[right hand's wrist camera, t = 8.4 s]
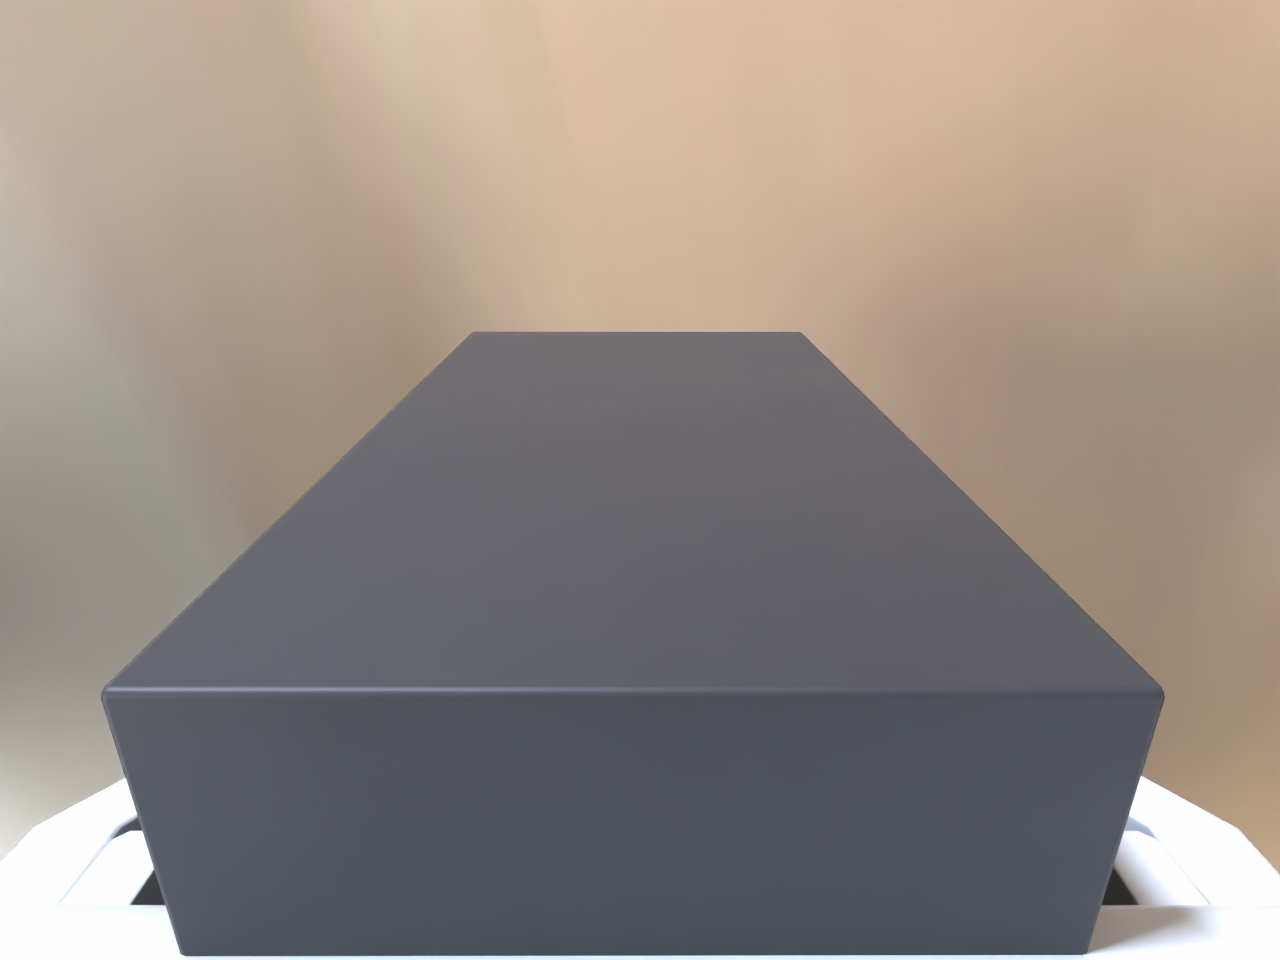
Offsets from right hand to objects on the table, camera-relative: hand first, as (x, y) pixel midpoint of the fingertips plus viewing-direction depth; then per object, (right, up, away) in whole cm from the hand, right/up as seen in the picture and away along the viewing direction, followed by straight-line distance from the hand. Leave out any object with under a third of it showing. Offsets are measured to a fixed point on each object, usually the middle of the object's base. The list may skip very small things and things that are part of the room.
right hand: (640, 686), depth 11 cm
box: (0, -6, +8) cm, 10 cm away
